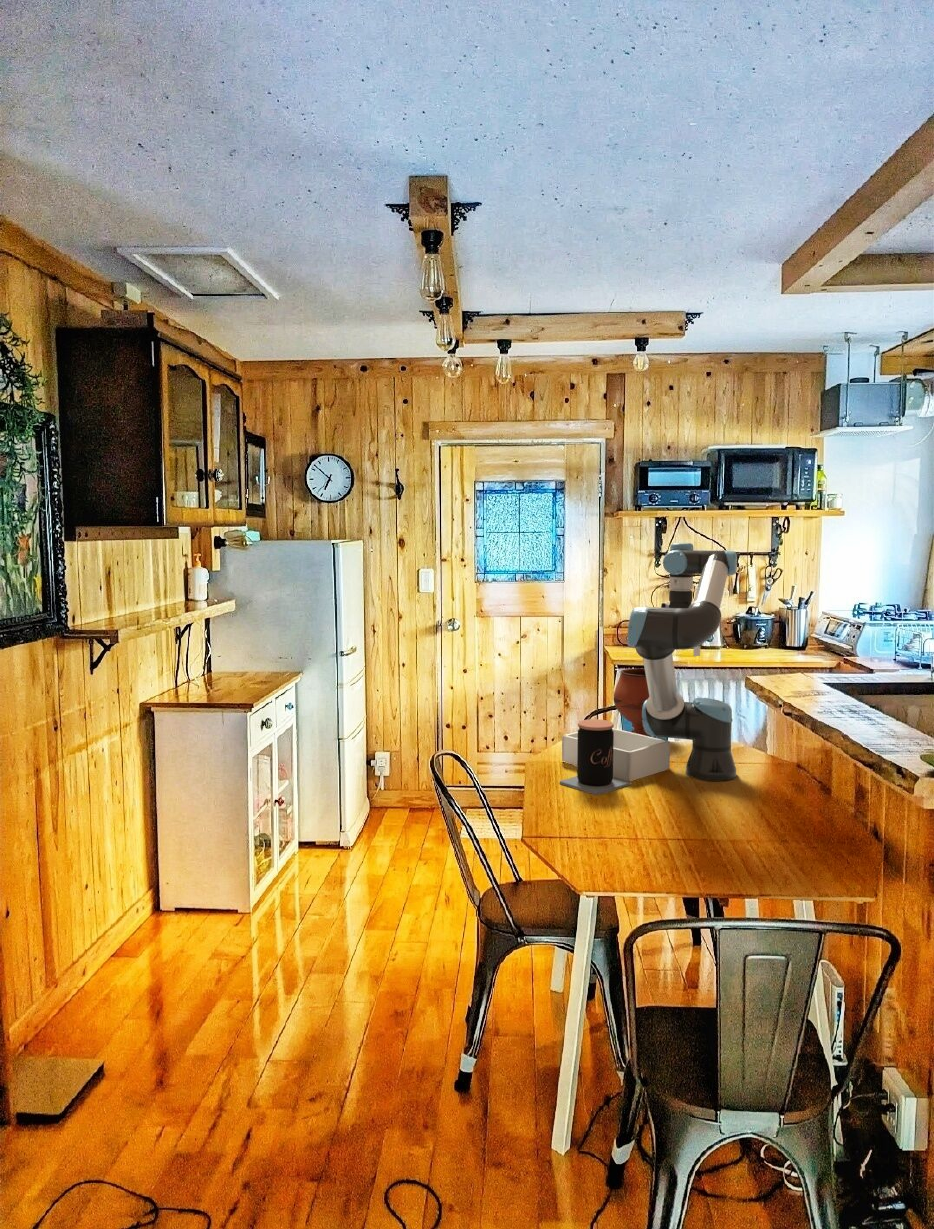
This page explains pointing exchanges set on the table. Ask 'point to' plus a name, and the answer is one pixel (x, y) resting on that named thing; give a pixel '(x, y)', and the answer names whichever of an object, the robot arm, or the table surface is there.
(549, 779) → the table surface
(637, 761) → the crate
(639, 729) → the goblet
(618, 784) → the mat
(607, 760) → the coffee jar
